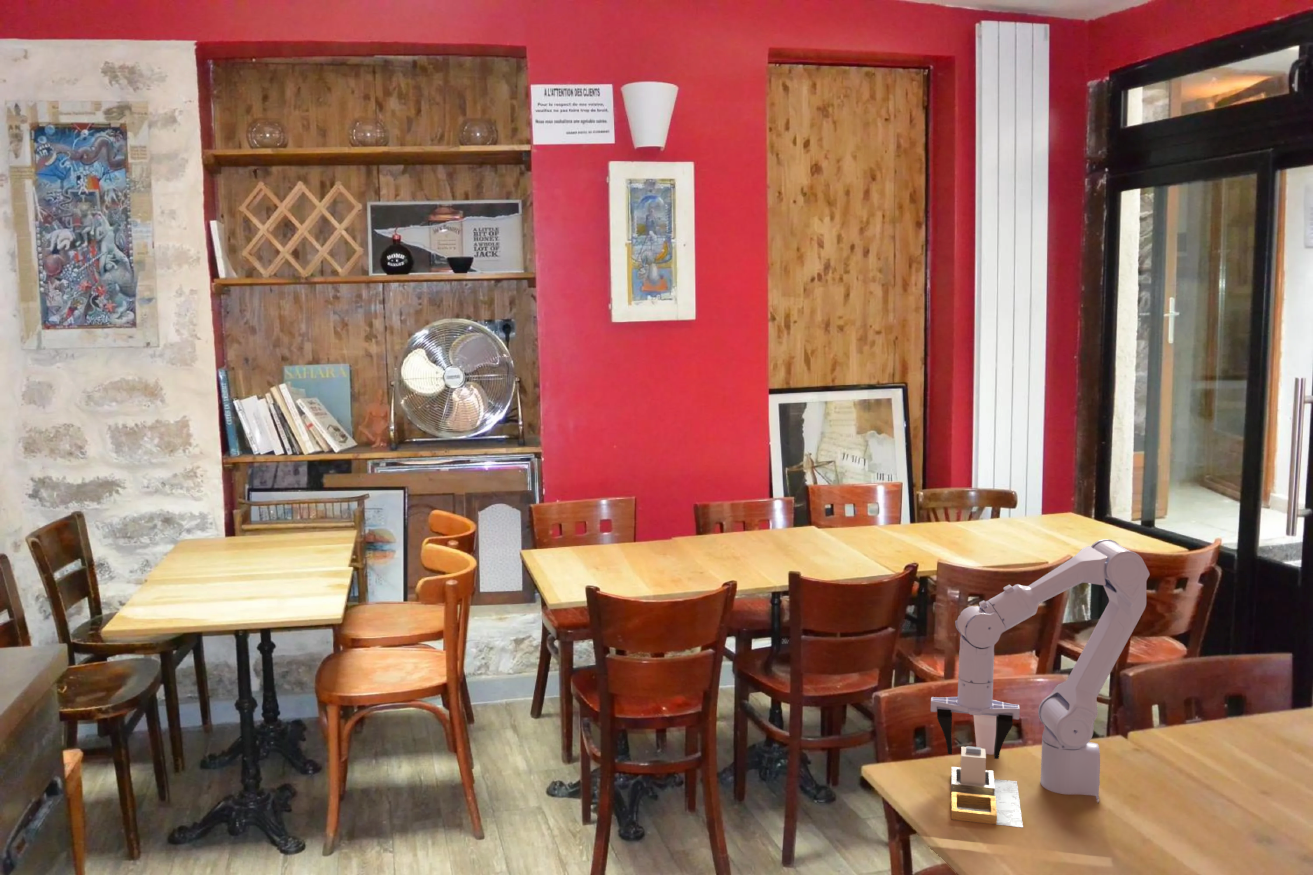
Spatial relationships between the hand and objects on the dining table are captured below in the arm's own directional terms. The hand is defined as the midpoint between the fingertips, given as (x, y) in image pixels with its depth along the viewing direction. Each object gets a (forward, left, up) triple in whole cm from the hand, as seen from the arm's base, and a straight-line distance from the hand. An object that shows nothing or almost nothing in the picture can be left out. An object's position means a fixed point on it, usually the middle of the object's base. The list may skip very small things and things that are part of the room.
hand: (972, 754), depth 190 cm
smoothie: (-3, -16, -7) cm, 18 cm away
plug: (0, 0, -6) cm, 6 cm away
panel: (-2, +5, -7) cm, 9 cm away
